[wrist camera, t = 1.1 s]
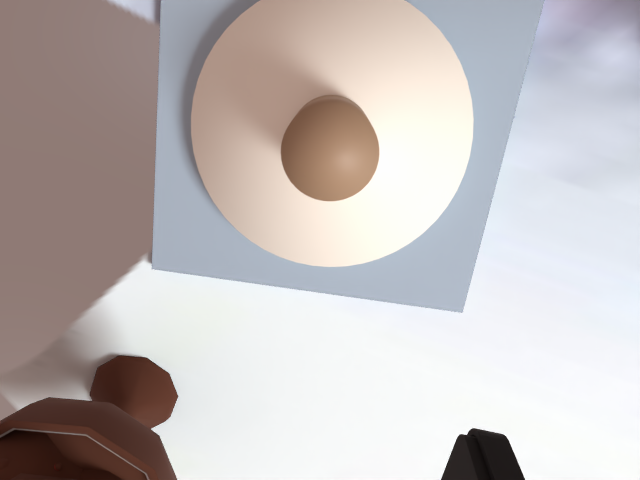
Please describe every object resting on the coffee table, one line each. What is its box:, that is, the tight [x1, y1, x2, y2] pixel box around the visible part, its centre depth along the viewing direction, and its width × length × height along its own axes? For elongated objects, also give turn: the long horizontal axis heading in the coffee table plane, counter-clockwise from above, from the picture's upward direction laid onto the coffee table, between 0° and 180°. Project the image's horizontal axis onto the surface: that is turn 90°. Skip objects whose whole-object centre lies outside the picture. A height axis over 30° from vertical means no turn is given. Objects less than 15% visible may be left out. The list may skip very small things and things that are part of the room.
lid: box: [191, 0, 474, 267], centre depth 24 cm, size 14×14×6 cm
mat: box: [152, 0, 544, 313], centre depth 27 cm, size 18×18×1 cm
